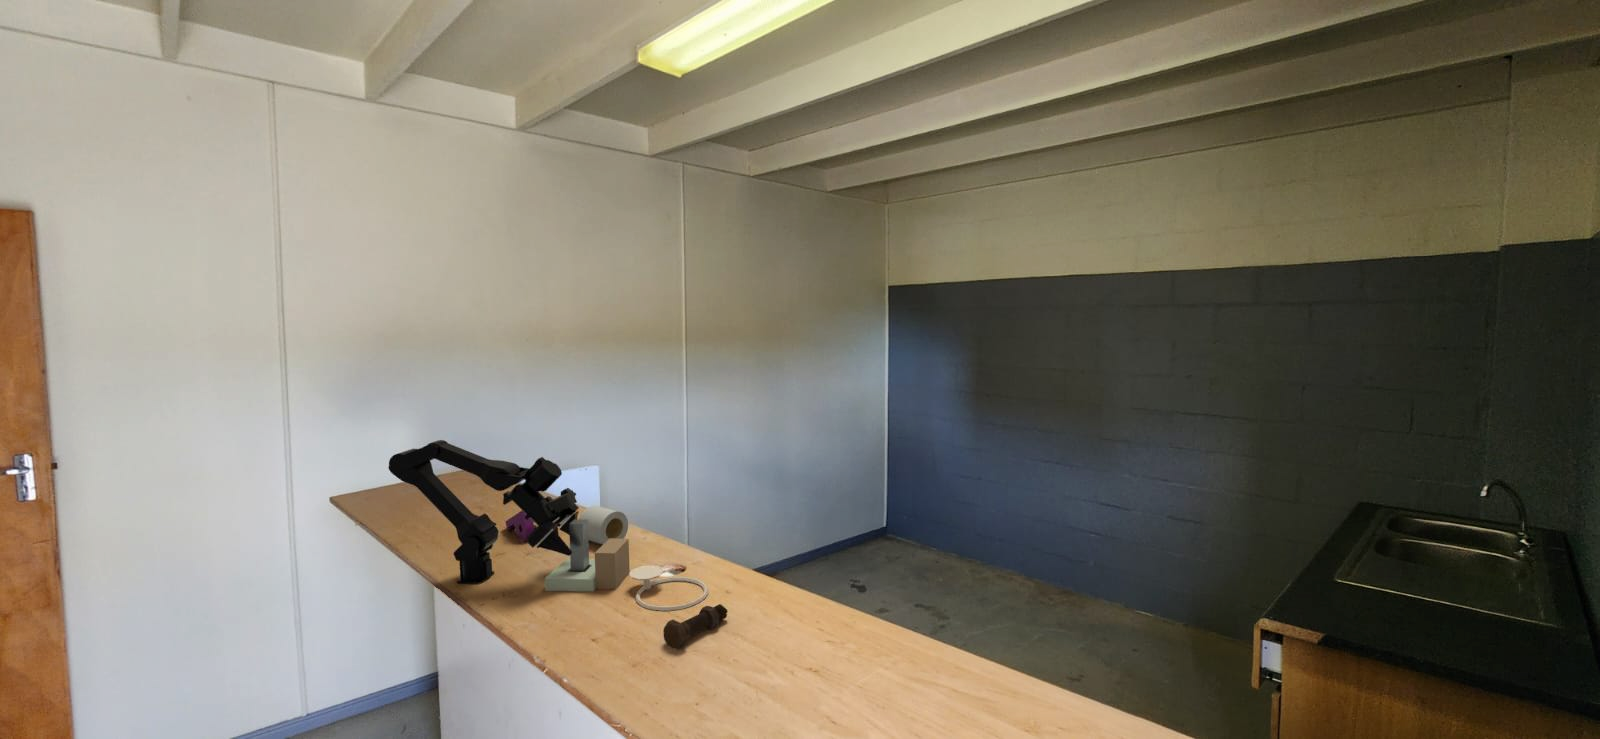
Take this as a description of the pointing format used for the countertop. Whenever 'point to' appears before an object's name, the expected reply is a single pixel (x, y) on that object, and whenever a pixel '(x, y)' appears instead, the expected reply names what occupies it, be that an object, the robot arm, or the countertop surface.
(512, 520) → the mounting bracket
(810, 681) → the countertop surface
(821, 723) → the countertop surface
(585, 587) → the square holed base
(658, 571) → the hand towel holder
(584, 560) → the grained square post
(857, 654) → the countertop surface
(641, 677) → the countertop surface
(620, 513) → the toilet paper
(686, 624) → the bolt
